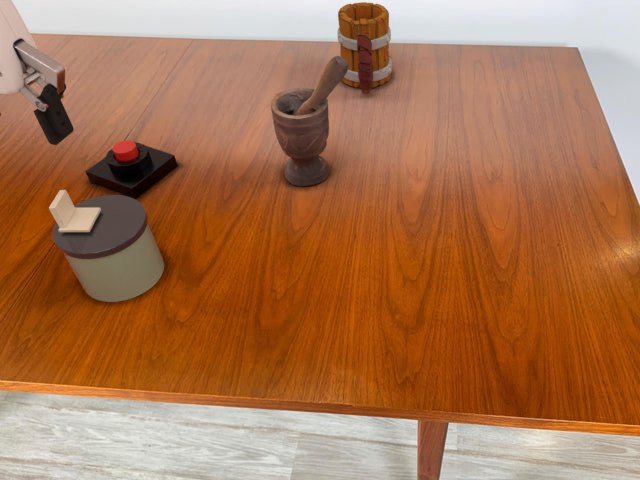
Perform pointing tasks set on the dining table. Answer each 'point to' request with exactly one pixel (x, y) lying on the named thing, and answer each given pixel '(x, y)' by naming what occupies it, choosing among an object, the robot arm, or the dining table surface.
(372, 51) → the mug
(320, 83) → the mortar and pestle
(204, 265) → the dining table surface
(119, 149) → the button
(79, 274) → the grey green round canister
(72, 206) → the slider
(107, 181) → the button block
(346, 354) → the dining table surface
